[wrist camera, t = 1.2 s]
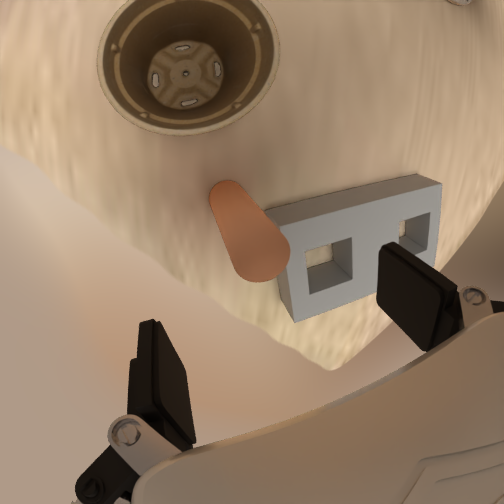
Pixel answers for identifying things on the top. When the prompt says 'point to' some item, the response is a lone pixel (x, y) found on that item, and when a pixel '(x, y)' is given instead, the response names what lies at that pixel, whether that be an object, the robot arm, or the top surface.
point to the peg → (248, 234)
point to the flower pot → (187, 62)
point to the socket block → (353, 239)
